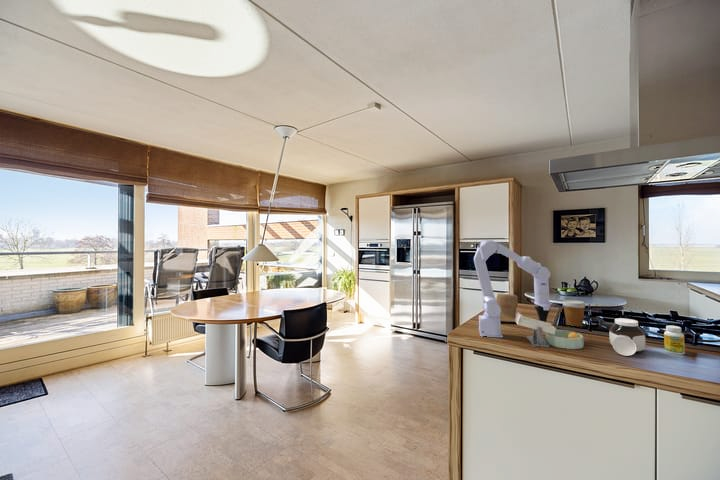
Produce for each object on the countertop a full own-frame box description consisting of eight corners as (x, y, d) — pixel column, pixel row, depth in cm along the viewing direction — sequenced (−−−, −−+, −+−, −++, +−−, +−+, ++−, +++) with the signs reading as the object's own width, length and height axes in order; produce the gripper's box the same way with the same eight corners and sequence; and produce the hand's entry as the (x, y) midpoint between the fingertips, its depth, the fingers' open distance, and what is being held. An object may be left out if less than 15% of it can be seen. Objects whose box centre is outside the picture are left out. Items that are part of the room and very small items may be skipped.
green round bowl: (551, 347, 124) (551, 337, 124) (543, 337, 136) (542, 328, 136) (588, 349, 120) (588, 339, 120) (576, 339, 132) (575, 330, 132)
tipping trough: (517, 324, 130) (519, 315, 130) (511, 316, 144) (513, 307, 144) (554, 334, 126) (556, 325, 126) (544, 324, 140) (546, 316, 140)
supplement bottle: (679, 350, 116) (678, 325, 116) (688, 355, 112) (687, 329, 112) (661, 349, 118) (660, 324, 118) (669, 354, 113) (668, 328, 113)
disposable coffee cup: (590, 328, 146) (589, 303, 146) (568, 328, 148) (567, 303, 148) (580, 323, 156) (579, 299, 156) (559, 323, 158) (558, 299, 158)
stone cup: (518, 318, 168) (517, 291, 168) (522, 324, 157) (521, 295, 157) (488, 317, 173) (487, 291, 173) (490, 323, 162) (489, 294, 162)
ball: (583, 337, 124) (577, 345, 125) (579, 334, 128) (574, 342, 129) (573, 332, 125) (567, 340, 126) (569, 329, 129) (564, 337, 130)
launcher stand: (533, 346, 126) (532, 327, 126) (526, 337, 138) (525, 320, 138) (549, 347, 124) (548, 328, 124) (541, 338, 136) (540, 320, 136)
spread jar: (636, 347, 121) (635, 318, 121) (656, 358, 110) (655, 326, 110) (601, 346, 124) (600, 317, 124) (617, 357, 113) (616, 325, 113)
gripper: (556, 295, 130) (558, 327, 130) (547, 290, 144) (548, 318, 144) (538, 295, 132) (539, 327, 132) (530, 289, 146) (531, 318, 146)
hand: (542, 322), depth 138 cm, fingers closed, pressing on tipping trough
